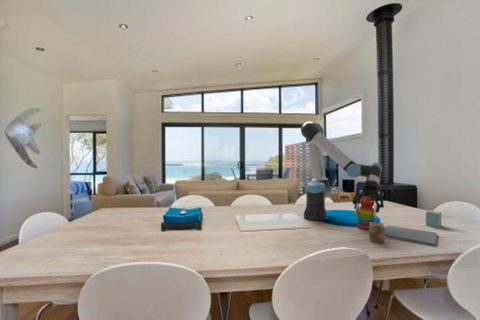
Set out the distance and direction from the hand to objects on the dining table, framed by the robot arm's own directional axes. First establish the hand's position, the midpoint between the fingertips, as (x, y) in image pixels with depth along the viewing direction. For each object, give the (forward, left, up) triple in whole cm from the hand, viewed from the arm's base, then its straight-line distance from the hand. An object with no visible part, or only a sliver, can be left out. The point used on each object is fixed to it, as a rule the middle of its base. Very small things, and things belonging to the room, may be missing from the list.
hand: (364, 215), depth 136 cm
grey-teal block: (+29, +33, -8) cm, 45 cm away
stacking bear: (0, +3, -8) cm, 9 cm away
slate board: (+20, +2, -8) cm, 22 cm away
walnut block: (+9, -17, -8) cm, 21 cm away
